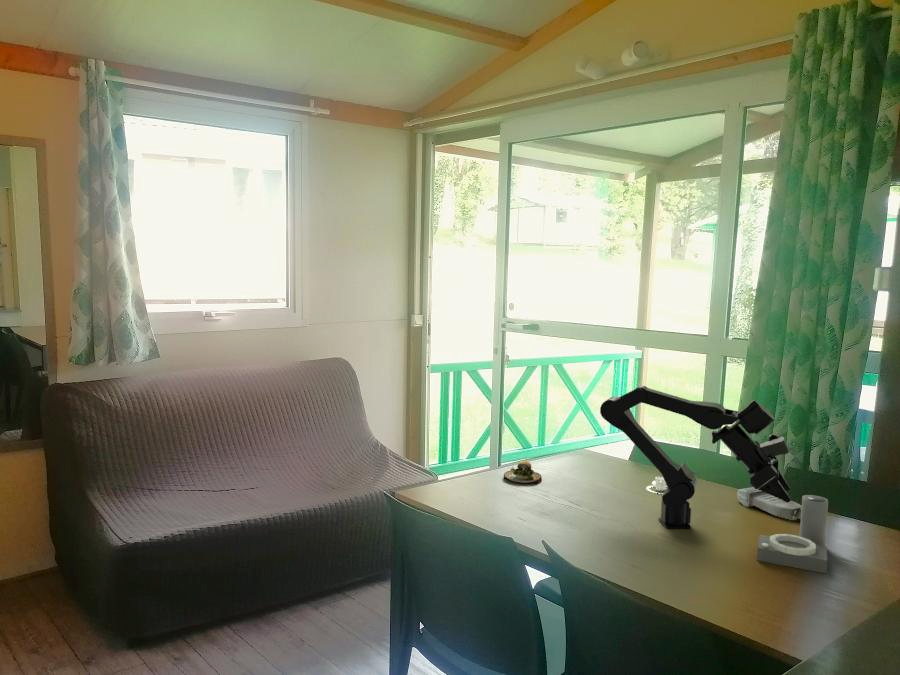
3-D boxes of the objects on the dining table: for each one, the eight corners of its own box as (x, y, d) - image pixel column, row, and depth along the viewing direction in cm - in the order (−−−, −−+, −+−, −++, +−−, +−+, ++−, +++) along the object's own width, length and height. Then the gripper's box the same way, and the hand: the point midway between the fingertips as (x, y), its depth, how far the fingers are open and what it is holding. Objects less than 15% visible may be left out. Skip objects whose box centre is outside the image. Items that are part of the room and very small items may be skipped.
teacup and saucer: (652, 484, 212) (652, 472, 212) (677, 489, 208) (678, 476, 207) (642, 491, 205) (642, 478, 205) (668, 497, 200) (669, 483, 200)
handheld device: (794, 527, 178) (795, 509, 177) (732, 503, 196) (733, 487, 196) (819, 521, 182) (821, 504, 182) (756, 498, 200) (757, 483, 200)
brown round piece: (496, 479, 214) (496, 456, 214) (520, 472, 222) (521, 450, 222) (524, 489, 206) (525, 464, 205) (549, 481, 214) (550, 458, 213)
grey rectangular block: (756, 560, 156) (757, 543, 155) (759, 546, 164) (760, 529, 164) (826, 574, 149) (827, 555, 149) (825, 558, 158) (826, 540, 157)
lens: (807, 551, 161) (810, 502, 160) (794, 542, 167) (797, 494, 166) (831, 551, 162) (834, 502, 160) (817, 542, 167) (821, 494, 166)
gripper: (768, 433, 158) (819, 486, 154) (769, 418, 174) (815, 466, 171) (730, 462, 162) (779, 515, 158) (734, 445, 179) (778, 492, 175)
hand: (789, 495), depth 165 cm, fingers open, 9 cm apart
